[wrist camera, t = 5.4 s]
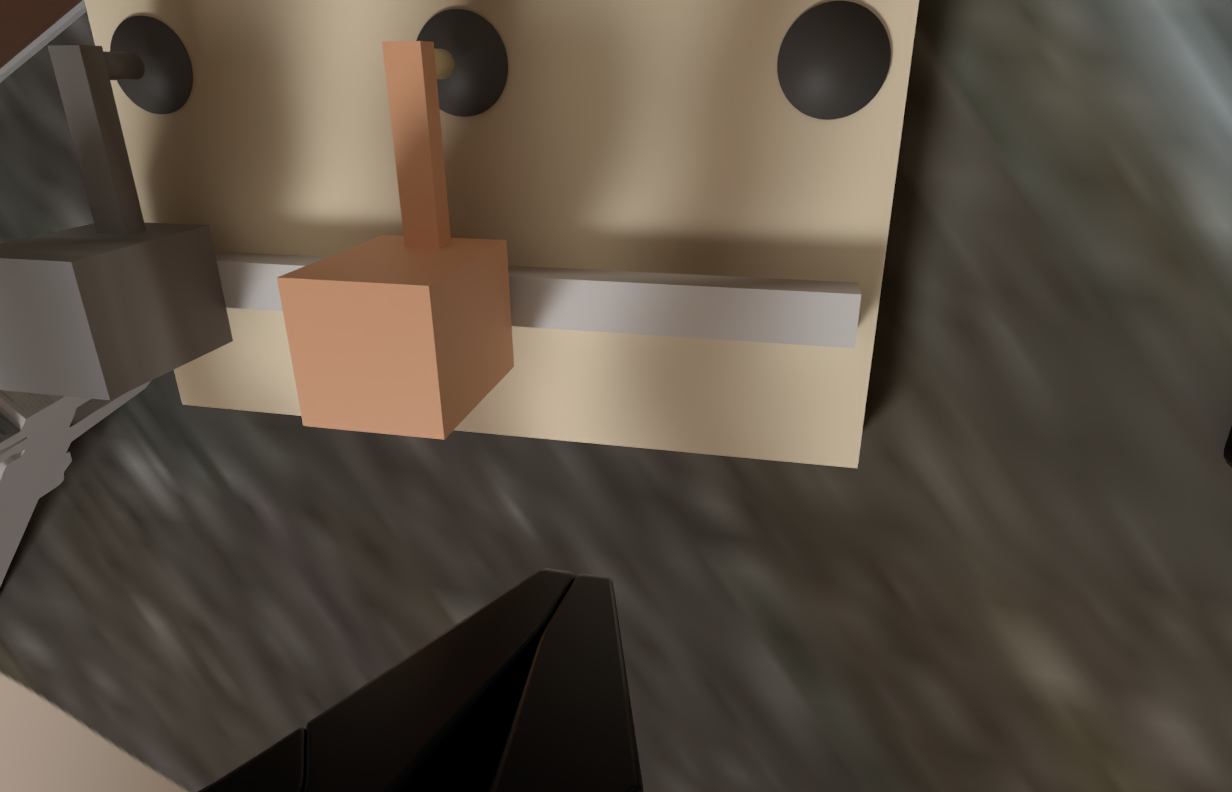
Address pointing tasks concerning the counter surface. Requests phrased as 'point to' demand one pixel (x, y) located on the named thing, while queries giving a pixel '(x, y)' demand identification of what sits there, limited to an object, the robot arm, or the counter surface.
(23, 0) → the food container
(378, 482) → the counter surface
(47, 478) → the caliper
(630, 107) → the hole plate
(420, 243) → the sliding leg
